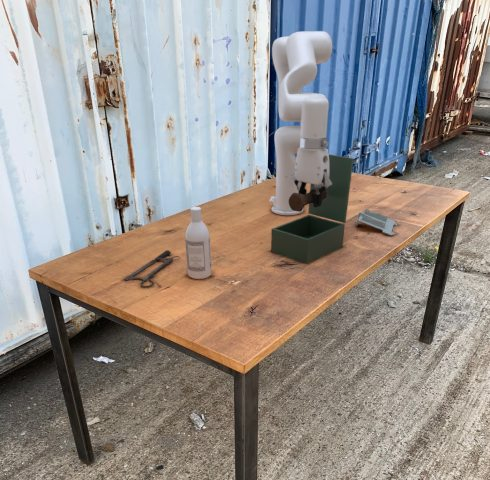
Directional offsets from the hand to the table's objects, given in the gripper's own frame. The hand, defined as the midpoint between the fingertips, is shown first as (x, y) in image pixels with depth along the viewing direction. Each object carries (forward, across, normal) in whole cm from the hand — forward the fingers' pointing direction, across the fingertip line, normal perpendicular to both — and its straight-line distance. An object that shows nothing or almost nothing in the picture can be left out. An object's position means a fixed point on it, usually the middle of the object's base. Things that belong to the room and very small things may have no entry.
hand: (309, 203), depth 157 cm
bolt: (+1, 0, 0) cm, 1 cm away
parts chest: (+15, 0, 0) cm, 15 cm away
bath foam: (+15, +11, +37) cm, 42 cm away
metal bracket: (+15, -5, -33) cm, 37 cm away
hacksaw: (+15, +23, +43) cm, 51 cm away
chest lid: (-3, 0, -10) cm, 10 cm away
